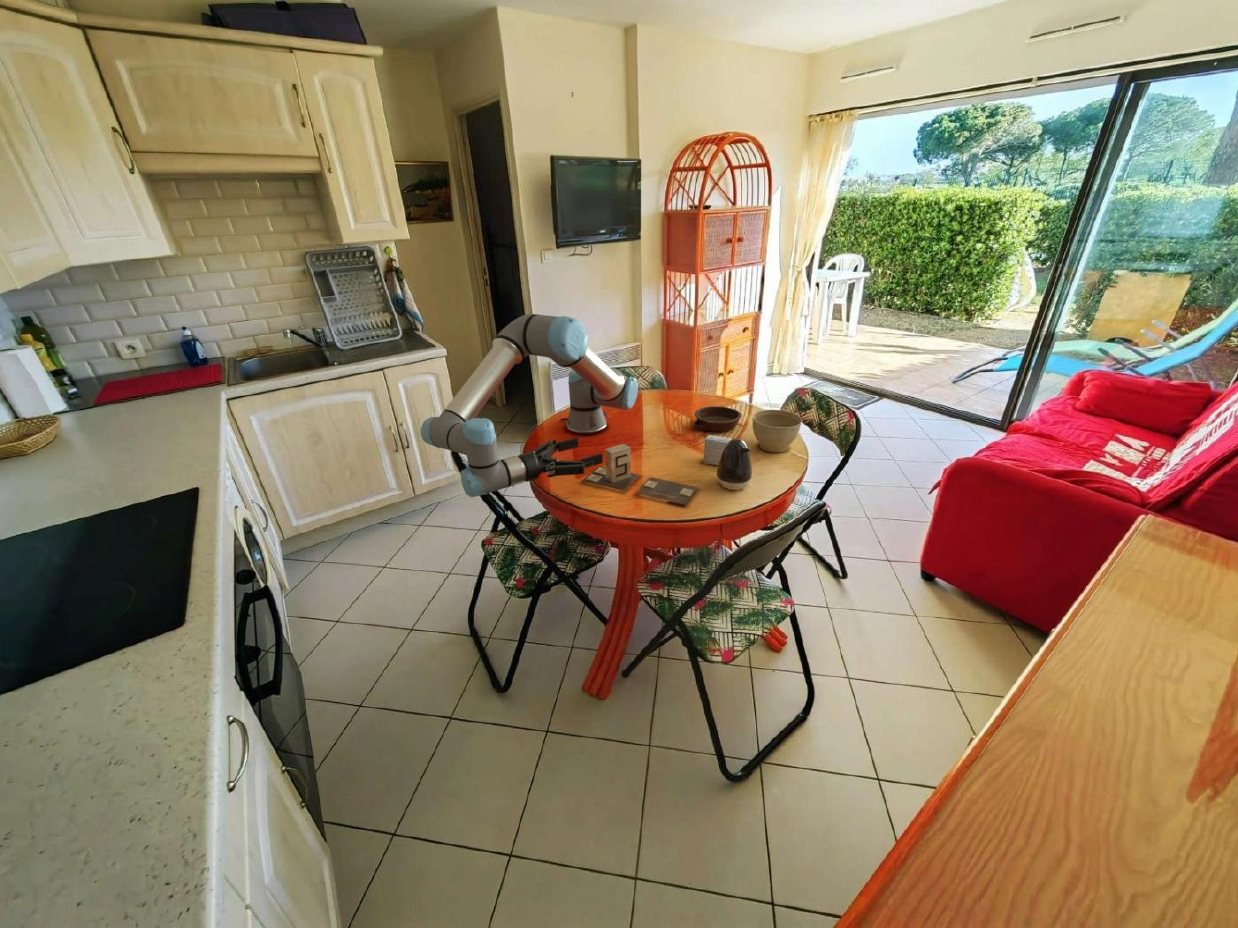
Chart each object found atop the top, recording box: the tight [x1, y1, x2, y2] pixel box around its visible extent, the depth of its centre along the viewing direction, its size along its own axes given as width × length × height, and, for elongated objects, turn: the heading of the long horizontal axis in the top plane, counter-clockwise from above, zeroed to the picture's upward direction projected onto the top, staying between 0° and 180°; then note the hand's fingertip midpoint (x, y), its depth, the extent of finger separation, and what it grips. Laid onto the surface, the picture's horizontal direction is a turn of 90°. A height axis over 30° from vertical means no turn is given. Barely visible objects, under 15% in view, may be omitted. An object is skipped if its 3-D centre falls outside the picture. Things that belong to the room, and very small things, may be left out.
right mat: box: [636, 476, 698, 508], centre depth 149 cm, size 15×11×1 cm
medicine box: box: [702, 434, 733, 466], centre depth 165 cm, size 8×4×9 cm, turn 65°
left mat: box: [582, 466, 640, 492], centre depth 157 cm, size 14×11×1 cm
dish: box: [692, 405, 743, 433], centre depth 194 cm, size 17×22×5 cm
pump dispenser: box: [716, 438, 753, 491], centre depth 149 cm, size 10×10×15 cm
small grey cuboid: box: [604, 443, 632, 483], centre depth 155 cm, size 4×7×10 cm, turn 124°
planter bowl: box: [751, 409, 803, 453], centre depth 174 cm, size 16×16×11 cm
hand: (589, 449), depth 147 cm, fingers open, 13 cm apart
